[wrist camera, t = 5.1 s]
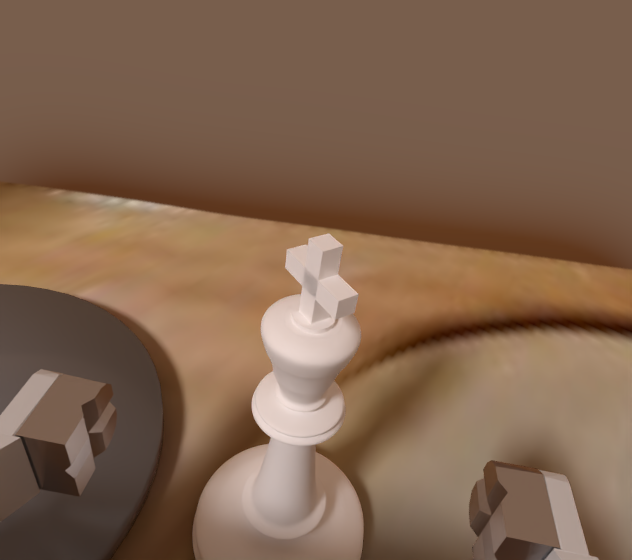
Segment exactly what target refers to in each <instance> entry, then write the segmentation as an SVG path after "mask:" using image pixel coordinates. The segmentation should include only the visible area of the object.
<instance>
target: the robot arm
mask: <svg viewBox="0 0 632 560" xmlns="http://www.w3.org/2000/svg"><path fill="white" fill-rule="evenodd" d="M113 395H114V394H113V390H112V386H111V384H107V383H102V382H98V381H93V380H89V379H84V378H80V377H75V376H71V375H67V374H63V373H58V372H53V371H48V370H43V369H40V370H39V371H37V372H36V373H34V374H33V375H32V376H31V377H30V379H29V380H28V381H27V382H26V384H25V385H24V386H23V387H22V389H21V390H20V391H19V392H18V394H17V395H16V396H15V397H14V399H13V400H12V401H11V402H10V404H9V405H8V406H7V407H6V409H5V410H4V411H3V412H2V414H1V415H0V522H1V521H3V520H4V519H5V518H7V517H8V516H9V515H11V514H12V513H13V512H15V511H16V510H17V509H18V508H20V507H21V506H22V505H24V504H25V503H26V502H28V501H29V500H30V499H32V498H33V497H34V496H36V495H37V494H38V493H40V490H46V491H51V492H57V493H62V494H68V495H73V496H79V497H80V496H81V494H82V492H83V490H84V488H85V487H86V485H87V483H88V481H89V479H90V478H91V476H92V474H93V472H94V471H95V469H96V468H95V463H94V457H96V456H97V455H99V454H101V453H102V452H104V451H105V450H106V449H107V447H108V445H109V443H110V441H111V439H112V437H113V434H114V430H115V427H116V421H117V412H116V408H115V407H114V406H113V405H112V404H111V403H110V400H111V398H112V396H113ZM483 472H484V478H483V479H481V480H479V481H477V482H476V484H475V486H474V488H473V490H472V493H471V498H470V503H469V519H470V527H471V528H472V529H473V531H474V532H475V534H476V535H477V537H478V539H477V540H476V542H475V543H474V545H473V547H472V552H473V560H599V559H598V557H594V556H590V554H589V551H588V547H587V544H586V540H585V537H584V533H583V529H582V526H581V522H580V519H579V515H578V511H577V508H576V504H575V501H574V497H573V493H572V490H571V486H570V483H569V480H568V479H567V477H566V476H565V475H562V474H558V473H553V472H547V471H542V470H538V469H536V468H530V467H525V466H520V465H514V464H509V463H503V462H498V461H493V460H491V461H489V462H487V464H486V466H485V467H484V469H483Z"/></svg>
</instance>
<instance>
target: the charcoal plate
mask: <svg viewBox="0 0 632 560" xmlns="http://www.w3.org/2000/svg"><path fill="white" fill-rule="evenodd" d="M40 369H43V370H48V371H53V372H58V373H63V374H67V375H71V376H75V377H80V378H84V379H89V380H93V381H98V382H102V383H107V384H111V386H112V390H113V394H114V395H113V396H112V398H111V400H110V403H111V404H112V405H113V406H114V407H115V408H116V412H117V421H116V427H115V430H114V434H113V437H112V439H111V441H110V443H109V445H108V447H107V449H106V450H105V451H104V452H102V453H101V454H99V455H97V456H96V457H94V463H95V468H96V469H95V471H94V472H93V474H92V476H91V478H90V479H89V481H88V483H87V485H86V487H85V488H84V490H83V492H82V494H81V496H80V497H79V496H73V495H68V494H62V493H57V492H51V491H46V490H40V493H38V494H37V495H36V496H34V497H33V498H32V499H30V500H29V501H28V502H26V503H25V504H24V505H22V506H21V507H20V508H18V509H17V510H16V511H15V512H13V513H12V514H11V515H9V516H8V517H7V518H5V519H4V520H3V521H1V522H0V560H110V558H111V557H112V555H113V554H114V552H115V551H116V550H117V548H118V547H119V545H120V544H121V542H122V541H123V539H124V538H125V536H126V535H127V533H128V532H129V530H130V529H131V527H132V525H133V523H134V521H135V519H136V518H137V516H138V514H139V512H140V510H141V508H142V506H143V504H144V502H145V500H146V498H147V496H148V493H149V490H150V488H151V485H152V482H153V479H154V477H155V474H156V471H157V467H158V463H159V458H160V453H161V449H162V442H163V426H164V418H163V406H162V397H161V387H160V382H159V379H158V376H157V372H156V369H155V366H154V364H153V362H152V360H151V358H150V356H149V354H148V352H147V350H146V348H145V347H144V346H143V344H142V343H141V342H140V340H139V339H138V338H137V336H136V335H135V334H134V333H133V332H132V331H131V330H130V329H129V328H128V327H127V326H126V325H124V324H123V323H122V322H121V321H120V320H118V319H117V318H116V317H114V316H113V315H111V314H110V313H108V312H107V311H105V310H103V309H101V308H99V307H97V306H95V305H93V304H91V303H90V302H87V301H85V300H82V299H79V298H76V297H74V296H71V295H68V294H64V293H60V292H56V291H52V290H48V289H42V288H36V287H29V286H20V285H5V284H0V415H1V414H2V412H3V411H4V410H5V409H6V407H7V406H8V405H9V404H10V402H11V401H12V400H13V399H14V397H15V396H16V395H17V394H18V392H19V391H20V390H21V389H22V387H23V386H24V385H25V384H26V382H27V381H28V380H29V379H30V377H31V376H32V375H33V374H34V373H36V372H37V371H39V370H40Z"/></svg>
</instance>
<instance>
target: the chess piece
mask: <svg viewBox="0 0 632 560" xmlns="http://www.w3.org/2000/svg"><path fill="white" fill-rule="evenodd" d="M342 249H343V245H341V244H340V243H339V242H338V241H337V240H336V239H335V238H334V237H332V236H331V235H330V234H325V235H321V236H317V237H314V238H310V239H309V242H308V246H307V245H302V246H298V247H294V248H291V249H287V256H286V265H285V268H286V269H287V270H288V271H289V272H290V273H291V274H292V275H293V276H294V278H295V279H296V280H297V281H298V282H299V283H300V284H301V285H302V292H301V294H297V295H291V296H288V297H285V298H282V299H280V300H278V301H277V302H275V303H274V304H273V305H271V306H270V307H269V308H268V309H267V311H266V312H265V314H264V316H263V318H262V322H261V336H262V340H263V343H264V346H265V349H266V352H267V354H268V356H269V358H270V360H271V363H272V366H273V371H272V372H270V373H269V374H268V375H266V376H265V377H264V378H263V379H262V380H261V382H260V383H259V385H258V387H257V388H256V390H255V392H254V394H253V398H252V413H253V416H254V419H255V421H256V422H257V424H258V426H259V427H260V428H261V429H262V430H263V431H264V432H265V433H266V434H267V435H268V436H270V437H271V439H270V442H269V444H264V445H259V446H255V447H252V448H249V449H247V450H244V451H242V452H240V453H238V454H236V455H235V456H233V457H232V458H230V459H229V460H227V461H226V462H225V463H224V464H223V465H222V466H220V467H219V468H218V469H217V471H216V472H215V473H214V474H213V475H212V477H211V478H210V479H209V481H208V482H207V484H206V486H205V488H204V490H203V492H202V494H201V496H200V499H199V502H198V506H197V510H196V513H195V517H194V522H193V531H192V542H193V550H194V555H195V559H196V560H360V558H361V554H362V547H363V535H364V520H363V513H362V508H361V504H360V501H359V498H358V496H357V493H356V491H355V489H354V487H353V486H352V484H351V482H350V481H349V479H348V478H347V477H346V475H345V474H344V473H343V472H342V471H341V470H340V469H339V468H338V467H337V466H336V465H335V464H334V463H333V462H332V461H330V460H329V459H327V458H326V457H324V456H323V455H321V454H319V453H317V452H316V444H319V443H322V442H324V441H326V440H328V439H329V438H331V437H332V436H333V435H334V434H336V432H337V431H338V430H339V429H340V427H341V426H342V424H343V421H344V418H345V403H344V398H343V394H342V392H341V390H340V388H339V386H338V385H337V384H336V382H335V381H334V380H335V378H336V376H337V375H338V374H339V372H340V371H341V370H342V369H343V368H345V367H346V365H347V364H348V363H349V362H350V360H351V359H352V358H353V356H354V355H355V353H356V351H357V349H358V347H359V345H360V341H361V329H360V325H359V323H358V321H357V319H356V317H355V316H354V315H353V313H354V312H355V308H356V303H357V299H358V293H357V292H356V291H355V290H354V289H353V288H351V287H350V286H349V285H348V284H347V283H346V282H345V281H344V280H343V279H342V278H341V277H340V276H339V275H338V270H339V265H340V260H341V255H342Z"/></svg>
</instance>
